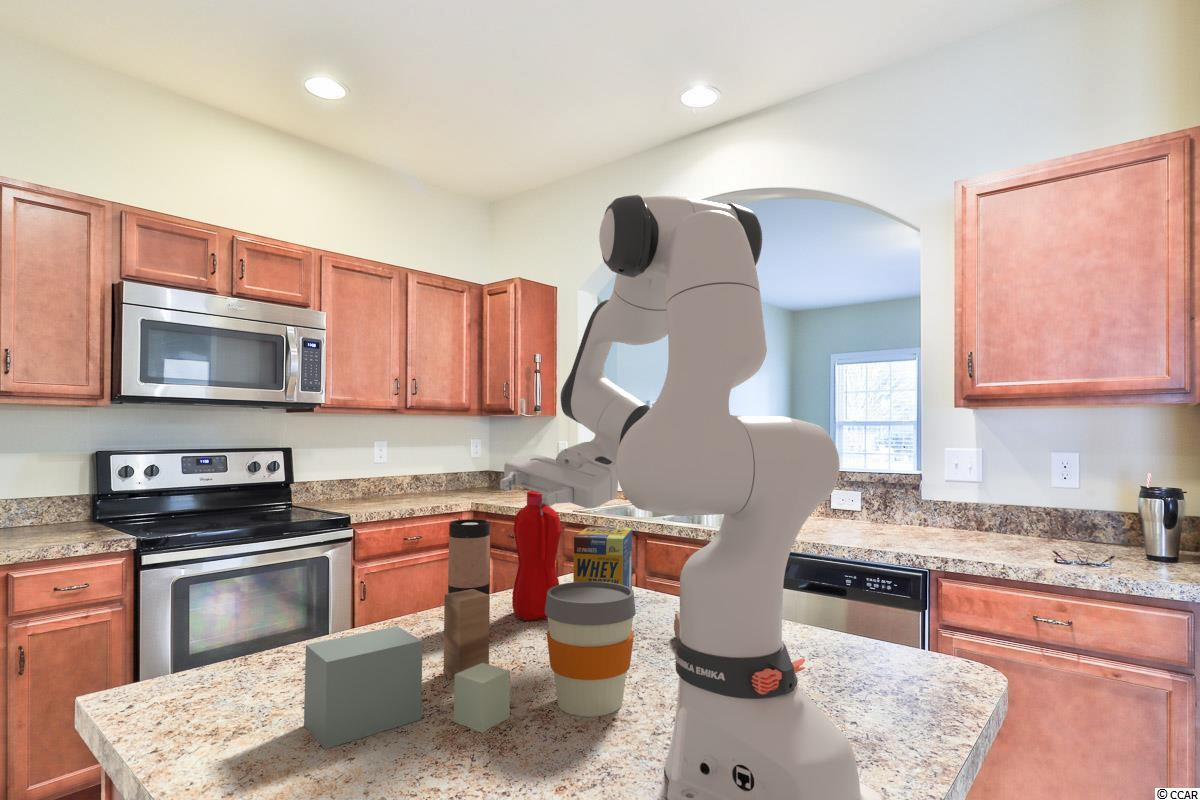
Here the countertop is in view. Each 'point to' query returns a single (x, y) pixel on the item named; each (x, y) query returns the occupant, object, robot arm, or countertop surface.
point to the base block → (362, 685)
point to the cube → (481, 696)
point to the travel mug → (469, 556)
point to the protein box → (603, 555)
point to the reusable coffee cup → (590, 644)
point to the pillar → (465, 630)
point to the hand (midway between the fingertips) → (523, 493)
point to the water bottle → (535, 557)
